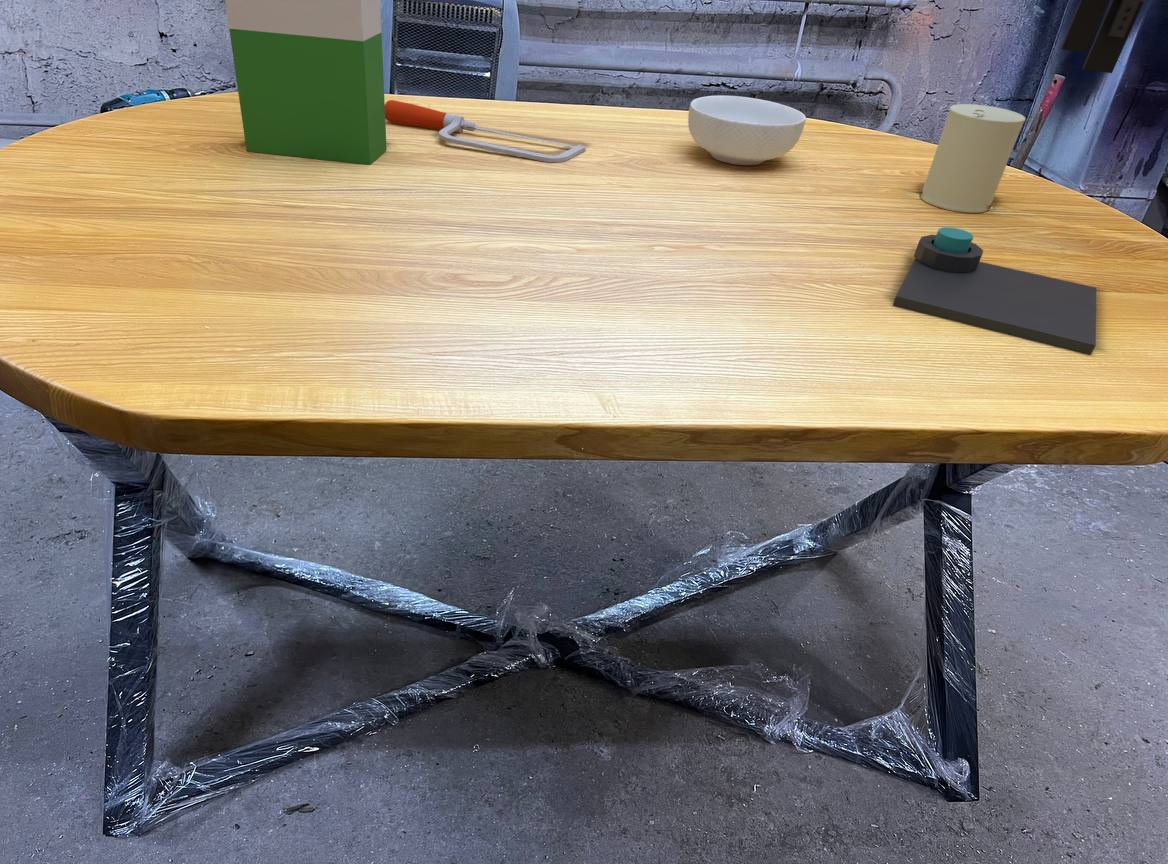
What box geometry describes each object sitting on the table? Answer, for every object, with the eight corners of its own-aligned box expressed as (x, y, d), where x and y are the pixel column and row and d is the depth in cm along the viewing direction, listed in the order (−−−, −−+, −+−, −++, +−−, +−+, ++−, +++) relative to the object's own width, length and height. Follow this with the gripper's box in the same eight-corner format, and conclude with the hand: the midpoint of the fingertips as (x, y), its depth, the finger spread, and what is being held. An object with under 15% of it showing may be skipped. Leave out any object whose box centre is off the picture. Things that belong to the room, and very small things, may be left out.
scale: (1091, 295, 89) (1104, 269, 87) (1090, 356, 77) (1105, 327, 75) (915, 255, 96) (924, 230, 94) (889, 306, 84) (899, 278, 82)
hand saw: (589, 135, 123) (571, 153, 115) (586, 156, 125) (568, 175, 117) (390, 97, 129) (360, 111, 122) (391, 118, 131) (361, 133, 124)
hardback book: (246, 151, 113) (217, -56, 99) (268, 137, 119) (244, -60, 105) (370, 164, 112) (358, -44, 97) (386, 150, 118) (377, -49, 103)
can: (907, 198, 113) (938, 104, 106) (938, 186, 118) (970, 97, 111) (972, 218, 108) (1009, 121, 101) (1002, 205, 113) (1039, 112, 106)
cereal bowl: (729, 180, 115) (740, 126, 111) (660, 147, 127) (667, 98, 123) (818, 168, 122) (831, 118, 118) (745, 139, 134) (754, 92, 129)
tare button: (969, 247, 91) (975, 232, 90) (965, 257, 89) (971, 241, 88) (935, 240, 92) (940, 224, 91) (930, 249, 90) (936, 234, 89)
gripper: (1117, -180, 89) (1032, 39, 102) (1181, -197, 70) (1067, 75, 83) (1195, -175, 87) (1098, 47, 100) (1282, -191, 68) (1150, 86, 81)
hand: (1084, 60), depth 92 cm, fingers open, 13 cm apart
